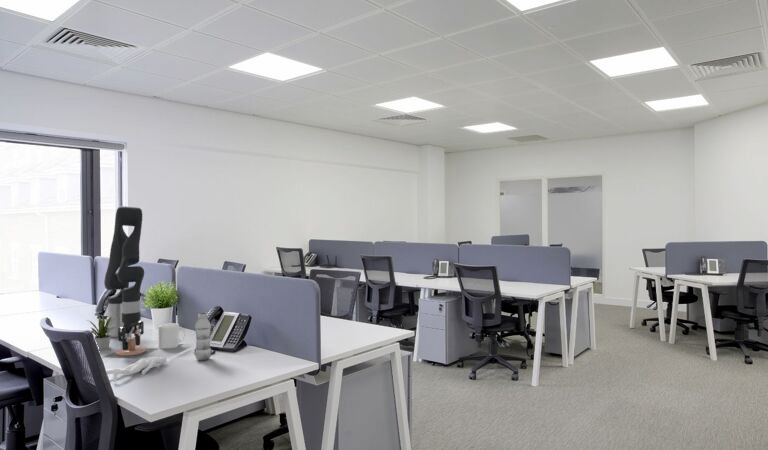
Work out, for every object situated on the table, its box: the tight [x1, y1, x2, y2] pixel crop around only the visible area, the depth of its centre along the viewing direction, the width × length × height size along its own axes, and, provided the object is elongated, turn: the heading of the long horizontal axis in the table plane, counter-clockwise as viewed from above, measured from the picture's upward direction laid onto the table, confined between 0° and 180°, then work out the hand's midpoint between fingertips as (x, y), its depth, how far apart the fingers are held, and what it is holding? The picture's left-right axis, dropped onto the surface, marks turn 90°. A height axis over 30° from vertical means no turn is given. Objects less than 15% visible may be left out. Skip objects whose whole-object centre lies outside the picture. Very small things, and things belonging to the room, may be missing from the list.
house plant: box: [86, 315, 118, 351], centre depth 221 cm, size 14×14×16 cm
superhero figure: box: [106, 356, 167, 382], centre depth 188 cm, size 12×6×25 cm
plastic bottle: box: [194, 312, 212, 361], centre depth 205 cm, size 6×7×20 cm
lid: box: [115, 337, 147, 356], centre depth 213 cm, size 12×12×6 cm
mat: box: [103, 347, 159, 360], centre depth 213 cm, size 16×16×1 cm
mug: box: [158, 322, 186, 350], centre depth 226 cm, size 9×12×11 cm
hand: (131, 347), depth 213 cm, fingers open, 7 cm apart
